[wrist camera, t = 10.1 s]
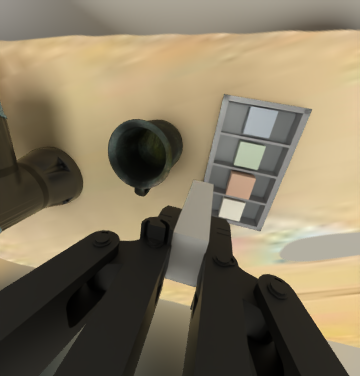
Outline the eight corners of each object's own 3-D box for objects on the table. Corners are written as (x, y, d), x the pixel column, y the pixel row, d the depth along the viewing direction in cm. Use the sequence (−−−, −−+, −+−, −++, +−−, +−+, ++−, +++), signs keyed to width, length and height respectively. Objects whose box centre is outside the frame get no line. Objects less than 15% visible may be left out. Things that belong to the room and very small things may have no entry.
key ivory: (218, 211, 41) (218, 216, 39) (223, 193, 40) (223, 198, 37) (238, 215, 41) (239, 221, 39) (244, 198, 39) (245, 203, 37)
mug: (190, 124, 37) (178, 129, 26) (176, 187, 43) (161, 213, 32) (140, 111, 38) (109, 111, 27) (133, 175, 44) (104, 196, 33)
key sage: (233, 161, 37) (233, 164, 34) (239, 139, 35) (240, 141, 33) (255, 166, 36) (257, 169, 34) (263, 144, 34) (265, 146, 32)
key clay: (225, 189, 38) (225, 194, 36) (231, 169, 36) (232, 173, 34) (246, 194, 37) (248, 199, 35) (253, 174, 36) (256, 178, 34)
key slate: (241, 132, 34) (243, 133, 32) (249, 106, 33) (251, 106, 30) (265, 136, 34) (268, 138, 32) (274, 111, 32) (278, 111, 30)
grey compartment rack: (197, 206, 44) (195, 215, 40) (223, 96, 34) (224, 94, 31) (256, 221, 42) (260, 231, 39) (301, 109, 33) (312, 109, 29)
